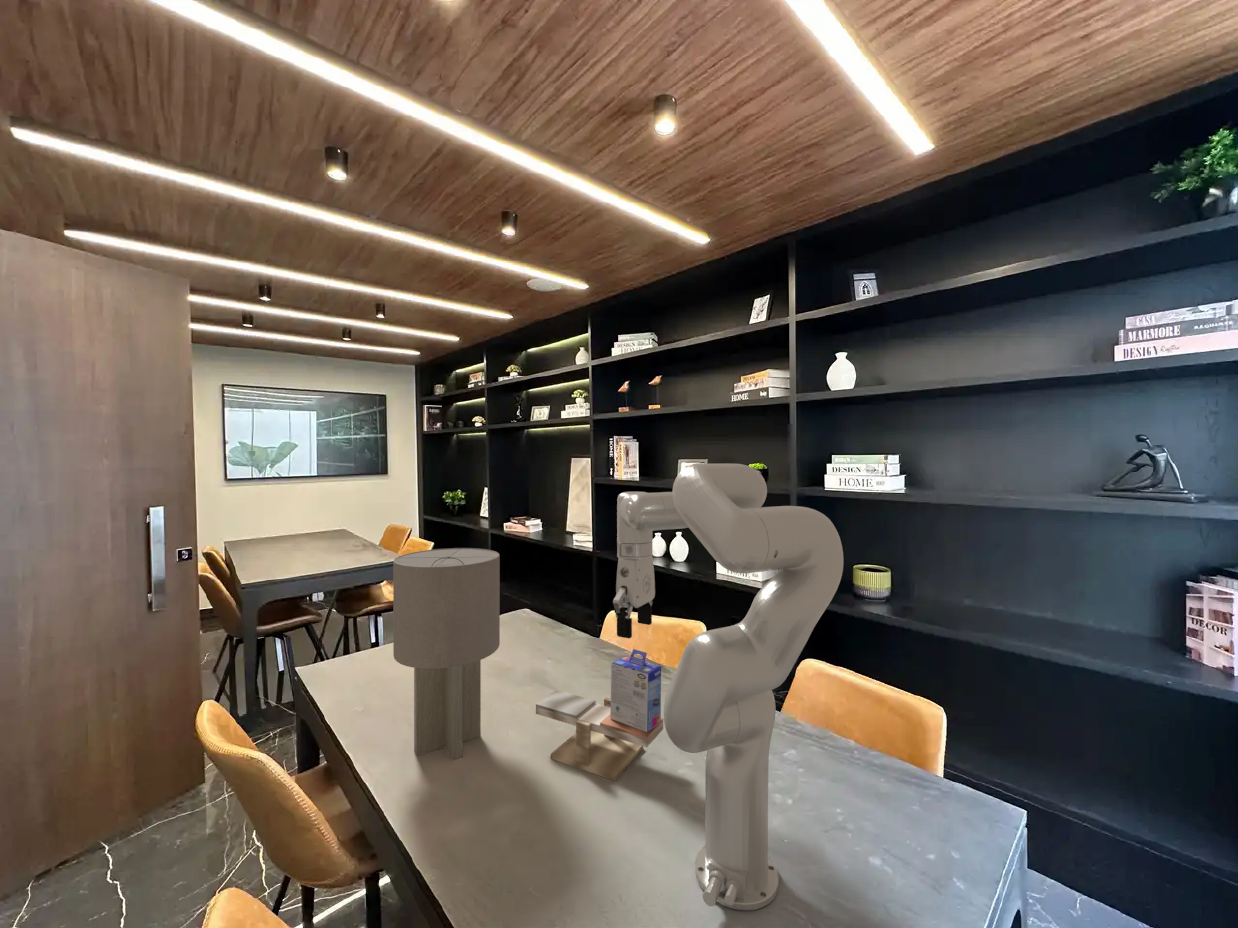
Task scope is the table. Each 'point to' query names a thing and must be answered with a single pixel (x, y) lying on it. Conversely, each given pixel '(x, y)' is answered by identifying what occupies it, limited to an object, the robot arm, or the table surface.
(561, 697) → the beam
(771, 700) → the robot arm
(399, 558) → the lamp
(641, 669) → the ink cartridge box
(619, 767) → the stand
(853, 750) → the table surface
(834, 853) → the table surface
